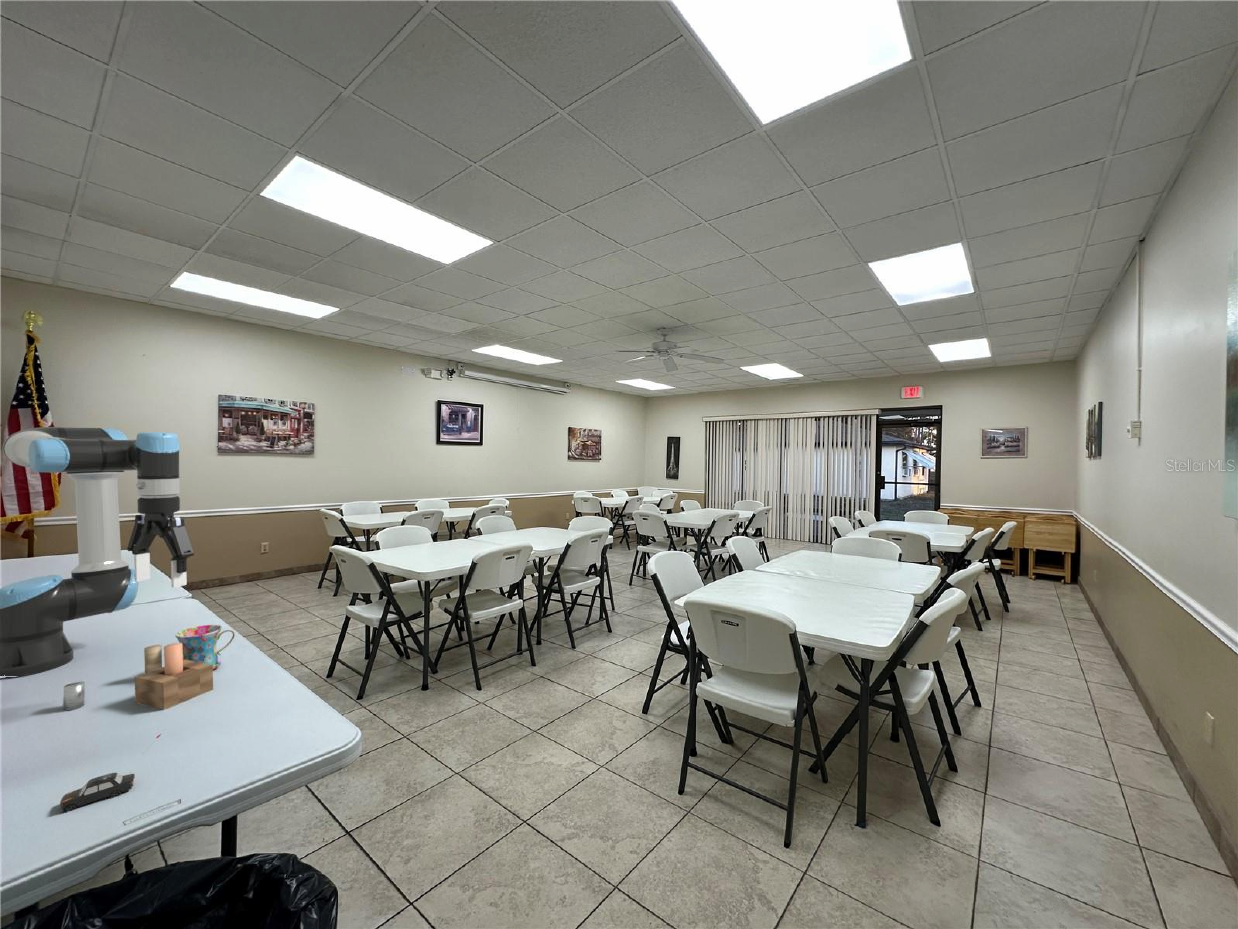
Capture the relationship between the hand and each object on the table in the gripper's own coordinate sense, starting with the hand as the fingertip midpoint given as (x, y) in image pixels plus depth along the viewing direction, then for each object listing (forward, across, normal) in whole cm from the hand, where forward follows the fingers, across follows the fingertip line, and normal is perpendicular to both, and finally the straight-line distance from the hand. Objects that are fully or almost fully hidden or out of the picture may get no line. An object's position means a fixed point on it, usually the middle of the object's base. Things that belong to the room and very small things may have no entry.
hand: (160, 583), depth 121 cm
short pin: (+26, -7, -13) cm, 29 cm away
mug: (+26, 0, +10) cm, 28 cm away
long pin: (+25, +9, -2) cm, 27 cm away
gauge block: (+25, +9, -2) cm, 27 cm away
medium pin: (+26, -7, +2) cm, 27 cm away
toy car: (+25, +38, -28) cm, 53 cm away
